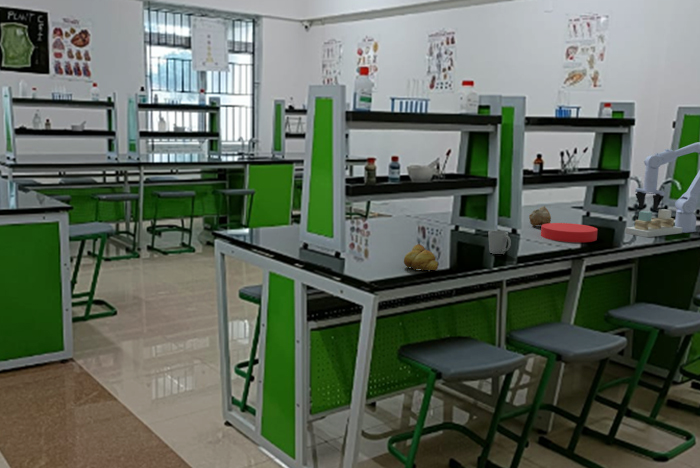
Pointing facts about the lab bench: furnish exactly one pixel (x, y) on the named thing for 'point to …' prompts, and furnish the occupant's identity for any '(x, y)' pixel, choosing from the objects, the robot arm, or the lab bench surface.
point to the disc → (569, 232)
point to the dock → (654, 231)
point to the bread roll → (420, 259)
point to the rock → (540, 217)
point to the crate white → (664, 214)
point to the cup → (498, 242)
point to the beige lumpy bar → (654, 223)
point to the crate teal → (645, 216)
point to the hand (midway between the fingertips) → (648, 208)
